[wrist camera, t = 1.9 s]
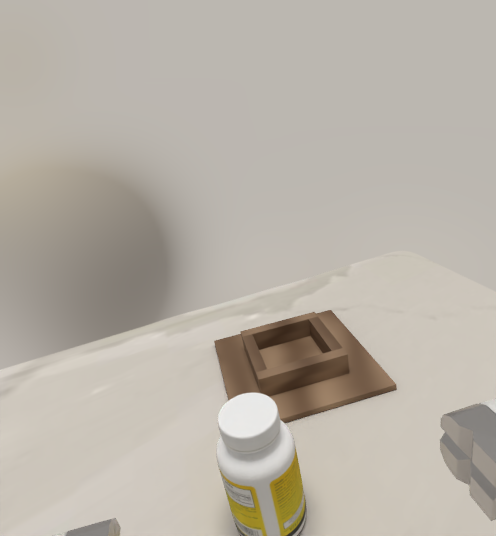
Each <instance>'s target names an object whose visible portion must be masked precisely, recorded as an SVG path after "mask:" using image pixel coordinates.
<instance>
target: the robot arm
mask: <svg viewBox="0 0 496 536" xmlns="http://www.w3.org/2000/svg"><path fill="white" fill-rule="evenodd" d="M440 427H441V428H442V429H443V430H444V431H445V433H444V435H443V436H442V438H441V439H440V450H441V453H442V456H443V459H444V461H445V463H446V465H447V466H448V468H449V470H450V471H451V472H452V474H453V475H454V476H455V477H456V479H458V480H460V481H462V482H464V483H466V484H468V485H469V491H470V496H471V497H472V498H473V500H474V501H475V502H476V503H477V504H478V506H479V507H480V508H481V509H482V511H483V512H484V513H485V514H486V515H487V517H488V518H489V519H490V520H491V521H492V520H495V519H496V398H495V399H492V400H489V401H486V402H482V403H480V404H475V405H471V406H468V407H465V408H462V409H459V410H456V411H453V412H450V413H447V414H444V415H443V416H442V418H441V426H440ZM54 536H120V525H119V524H118V522H117V520H116V518H114V519H110V520H106V521H103V522H99V523H95V524H92V525H88V526H85V527H81V528H78V529H74V530H71V531H67V532H64V533H61V534H57V535H54Z"/></svg>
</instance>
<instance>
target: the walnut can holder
mask: <svg viewBox="0 0 496 536" xmlns="http://www.w3.org/2000/svg"><path fill="white" fill-rule="evenodd" d="M214 342H215V346H216V350H217V354H218V358H219V362H220V367H221V371H222V375H223V379H224V383H225V387H226V391H227V395H228V399H229V400H230V399H232V398H234V397H236V396H238V395H241V394H245V393H261V394H264V395H267V396H269V397H270V398H271V399H272V400H273V401H274V402H275V403H276V405H277V408H278V413H279V417H280V420H281V421H283V422H284V423H286V422H289V421H293V420H296V419H299V418H303V417H306V416H309V415H313V414H316V413H319V412H323V411H326V410H329V409H333V408H336V407H339V406H343V405H346V404H349V403H353V402H356V401H359V400H363V399H366V398H369V397H373V396H376V395H379V394H382V393H386V392H389V391H392V390H396V384H395V383H394V381H393V380H392V379H391V378H390V377H389V376H388V375H387V373H386V372H385V371H384V370H383V369H382V368H381V367H380V365H379V364H378V363H377V362H376V361H375V360H374V359H373V358H372V356H371V355H370V354H369V353H368V352H367V351H366V350H365V348H364V347H363V346H362V345H361V344H360V343H359V342H358V340H357V339H356V338H355V337H354V336H353V335H352V334H351V332H350V331H349V330H348V329H347V328H346V327H345V326H344V325H343V323H342V322H341V321H340V320H339V319H338V318H337V317H336V315H335V314H334V313H333V312H332V311H331V310H328V311H325V312H321V313H317V314H316V313H315V312H312V313H308V314H305V315H301V316H297V317H293V318H290V319H286V320H282V321H278V322H275V323H271V324H267V325H263V326H260V327H256V328H252V329H248V330H245V331H241V334H239V335H235V336H231V337H227V338H224V339H220V340H216V341H214Z"/></svg>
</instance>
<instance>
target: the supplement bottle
mask: <svg viewBox="0 0 496 536" xmlns="http://www.w3.org/2000/svg"><path fill="white" fill-rule="evenodd" d="M218 426H219V430H220V434H221V436H220V438H219V440H218V443H217V449H216V456H217V462H218V466H219V470H220V473H221V476H222V480H223V483H224V487H225V490H226V494H227V497H228V501H229V504H230V508H231V511H232V515H233V518H234V521H235V524H236V527H237V529H238V531H239V533H240V535H241V536H297V535H298V534H299V533H300V531H301V530H302V528H303V525H304V523H305V519H306V502H305V496H304V491H303V485H302V479H301V474H300V468H299V463H298V458H297V453H296V448H295V443H294V439H293V435H292V433H291V431H290V429H289V428H288V426H287V425H286V424H285V423H284V422H283V421H281V420H280V417H279V413H278V408H277V405H276V403H275V402H274V401H273V400H272V399H271V398H270V397H269V396H267V395H264V394H261V393H245V394H241V395H238V396H236V397H234V398H232V399H230V400H229V401H228V402H226V403H225V404H224V406H223V407H222V408H221V410H220V412H219V415H218Z"/></svg>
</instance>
